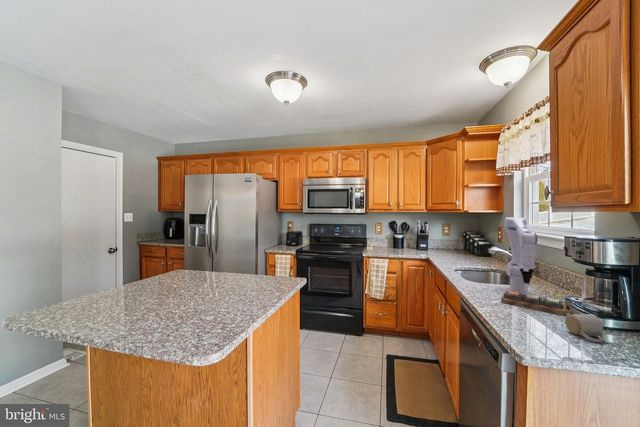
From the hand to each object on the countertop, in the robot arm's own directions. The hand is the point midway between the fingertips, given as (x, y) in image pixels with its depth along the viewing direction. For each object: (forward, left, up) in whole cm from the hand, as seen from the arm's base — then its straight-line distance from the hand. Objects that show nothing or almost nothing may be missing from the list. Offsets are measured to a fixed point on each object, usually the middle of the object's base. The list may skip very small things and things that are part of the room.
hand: (526, 283), depth 137 cm
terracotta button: (+6, -3, -7) cm, 10 cm away
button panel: (+4, +4, -9) cm, 11 cm away
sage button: (+2, +11, -7) cm, 13 cm away
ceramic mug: (+26, +28, -10) cm, 39 cm away
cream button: (+4, +4, -7) cm, 9 cm away
